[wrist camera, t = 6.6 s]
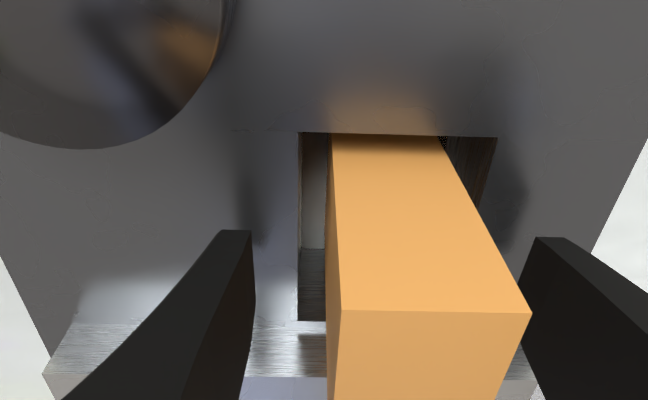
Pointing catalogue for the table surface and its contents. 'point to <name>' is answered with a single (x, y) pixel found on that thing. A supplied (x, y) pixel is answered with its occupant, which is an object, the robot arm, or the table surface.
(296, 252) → the grey slotted base box
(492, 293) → the tall orange box
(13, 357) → the table surface
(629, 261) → the table surface
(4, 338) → the table surface
